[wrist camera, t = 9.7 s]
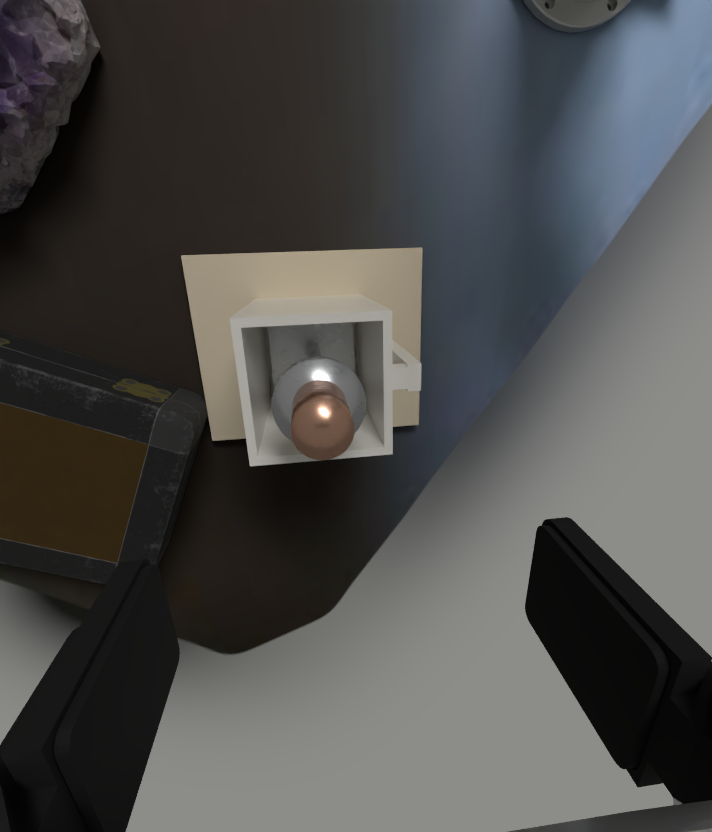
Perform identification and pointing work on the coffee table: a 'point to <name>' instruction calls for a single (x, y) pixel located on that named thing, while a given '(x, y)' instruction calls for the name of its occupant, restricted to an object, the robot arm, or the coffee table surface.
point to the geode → (38, 84)
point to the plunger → (316, 387)
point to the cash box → (89, 461)
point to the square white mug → (299, 305)
